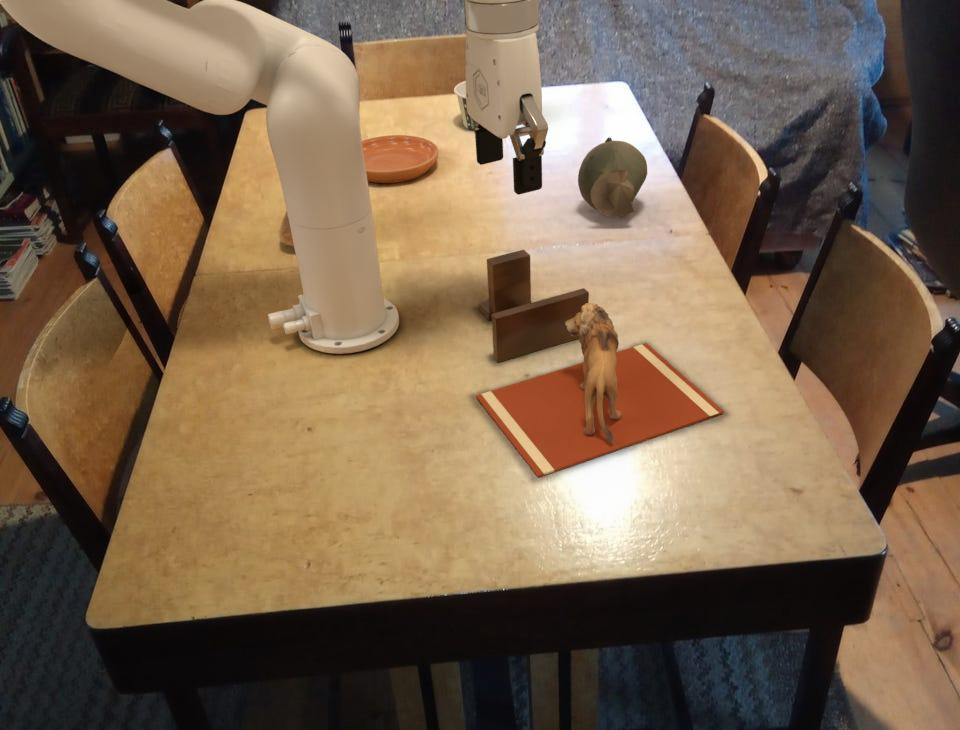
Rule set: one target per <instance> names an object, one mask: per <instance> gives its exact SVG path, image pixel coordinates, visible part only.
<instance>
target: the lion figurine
mask: <svg viewBox="0 0 960 730" xmlns="http://www.w3.org/2000/svg"><path fill="white" fill-rule="evenodd" d="M565 325H566V326H567V330H568V331H569V332H571V335H572V336H580V337H579V338H578V341H579V344H580V345H581V346H580V348H581V353H582V356H583V362H582V363H583V372H584V376H585V381H584V382H582V383H581V385H580V387H581V388H582V389H584V390H585V408H586V423H587V426H586V427H585V428H584V433H585V434H587V435H591V434H593V433H594V432H595V428H594V416H593V405H594V402H595V399H596V397H597V411H598V418H599V422H600V425H601V427H602V429H603V431H604V433H605V438H606V439H607V440H608V441H610V442H613V441H614V438H613V436H612V434H611V432H610V430H609V429H608V428H607V426H606V424H605V421H604V417H603V394H604V395H605V397H606V398H607V400H608V403H609V414H610V417H611V418H612V419H619V418H621V413H620V412H619V411H618V410H616V402H617V395H618V390H617V377H616V372H615V368H616V363H617V359H616V355H617V352H618V349H619V345H620V342H619V335H618V333H617V332H616V331H617V330H615V326H614V323H613V320H612V319H611V318H610V317H609V314H608V312H606V309H605V308H604V307H602V306H600V305H598V303H591V302H589V303H586V304H585V305H583V306H582V307H581V312H579V313H577V315H576V316H575V317H574V318H572V319H570V320H567V321H566V322H565Z"/></svg>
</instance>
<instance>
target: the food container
mask: <svg viewBox="0 0 960 730" xmlns="http://www.w3.org/2000/svg"><path fill="white" fill-rule="evenodd" d="M453 92H454V94H455V95H456V97H457V102H458V106H459V110H460V114H461V119H462V124H463V126H464V127H465V128H466V129H467V130H469V131H472V132H475V130H478V129H479V128H478V129H475V128H474V125H473V119H472V118H471V117H470V115H469V114H468V112H467V104H466V80H464V81H461V82H459V83H458V84H456V85H455V86H454V88H453Z"/></svg>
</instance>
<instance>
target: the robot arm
mask: <svg viewBox="0 0 960 730" xmlns="http://www.w3.org/2000/svg"><path fill="white" fill-rule="evenodd" d="M539 2H540V1H539V0H463V8H464V9H463V11H464V23H465V24H464V25H465V26H464V27H465V33H466V34H465V35H466V36H465V53H464V54H465V57H464V58H465V60H464V63H465V65H464V66H465V68H464V69H465V70H464V71H465V73H464V74H465V81H466V104H467V112H468V114H469V115H470V117H471V118H472V119H473V125H474V128H475V129H478V128H479V129H478V130H475V131H474V138H475V154H476V155H475V156H476V162H477V164H479V165H480V166H483V165H487V164H490V163H494V162H495V163H496V162H499V161H502V160H503V159H504V142H503V141H504V139H506V138H508V136H509V139H510V141H511V144H512V145H511V146H512V148H513V150H514V151H513V152H514V154H515V157H513V158H512V171H513V172H512V173H513V174H512V175H513V192H514V193H515V194H516V195H519V196H520V195H523V194H527V193H531V192H535V191H539V190H542V189H543V156H544V153H545V147H546V144H547V141H546V140H547V135H548V132H549V124H548V121H547V120H546V119H545V116H543V93H542V91H543V90H542V78H541V77H542V76H541V75H542V74H541V65H540V54H539V47H538V40H537V38H538V37H537V31H539V30H540V9H539V8H540V3H539ZM0 5H1V6H2V8H3V9H4V10H5V11H6V13H8V14H9V16H10V17H11V18H12V19H13V20H14V21H16V22H17V24H19V25H20V26H21V27H22V28H23V29H24V30H26V31H27V32H29V33H30V34H32V35H33V36H34V37H36V38H38V39H39V40H41V41H42V42H44V43H46V44H47V45H50V46H51V47H53V48H56V49H57V50H59V51H62V52H64V53H66V54H68V55H70V56H74V57H77V58H78V59H80V60H83V61H85V62H88V63H91V64H94V65H96V66H97V67H98V66H99V67H101V68H103V69H106V70H108V71H110V72H113V73H115V74H117V75H119V76H120V77H123V78H125V79H128V80H130V81H132V82H134V83H137V84H139V85H141V86H144V87H146V88H149V89H151V90H153V91H155V92H158V93H159V94H162V95H165V96H167V97H170V98H172V99H174V100H176V101H179V102H181V103H184V104H185V105H188V106H190V107H193V108H195V109H197V110H200V111H202V112H205V113H209V114H212V115H216V116H217V115H218V116H224V115H225V116H226V115H231V114H235V113H236V112H238V111H240V110H242V109H243V108H244V107H245V106H246V105H247V104H248V103H249V102H250V101H251V100H253V101H255V102H258V103H259V104H263V105H265V106H266V115H265V116H266V118H265V120H266V121H265V122H266V123H265V124H266V131H267V135H268V141H269V145H270V149H271V153H272V155H273V160H274V163H275V166H276V169H277V170H276V171H277V173H278V177H279V180H280V181H279V182H280V186H281V190H282V194H283V199H284V204H285V209H286V210H287V215H288V218H289V223H290V228H291V233H292V238H293V243H294V247H293V248H294V253H295V258H296V263H297V268H298V274H299V277H300V284H301V288H302V294H298V296H297V298H298V302H299V303H297V304H293V305H292V308H289V309H285V310H279V311H275V312H271V313H268V314H267V319H268V323H269V326H270V328H271V330H276V329H280V328H283V329H284V333H285V335H286V336H287V335H290V334H294V333H298V337H299V339H300V340H301V342H302V343H303V344H304V345H306V346H307V347H308V348H310V349H312V350H315V351H318V352H321V353H327V354H336V355H343V354H344V355H345V354H352V353H359V352H364V351H367V350H370V349H373V348H375V347H378V346H379V345H381V344H383V343H385V342H386V341H388V340H389V339H390V338H392V336H394V334H395V333H396V332H397V330H398V328H399V325H400V314H399V311H398V309H397V307H396V305H394V304H393V303H392V302H391V301H389V300H387V299H385V297H384V296H385V295H384V290H383V282H382V274H381V269H380V268H381V267H380V260H379V252H378V245H377V237H376V229H375V223H374V222H375V221H374V214H373V207H372V203H371V195H370V188H369V181H368V180H367V173H366V166H365V160H364V154H363V147H362V141H363V140H362V131H361V117H360V115H361V114H360V110H361V109H360V108H361V101H360V99H361V85H360V79H359V75H358V72H357V69H356V67H355V65H354V64H353V62H352V61H351V59H350V58H349V56H348V55H347V54H346V53H345V52H343V51H342V49H340V48H338V47H337V46H335V45H334V44H332V43H331V42H329V41H327V40H325V39H323V38H321V37H319V36H317V35H315V34H313V33H311V32H309V31H307V30H304V29H302V28H300V27H298V26H295V25H293V24H291V23H289V22H287V21H285V20H283V19H280V18H278V17H276V16H274V15H272V14H270V13H268V12H265V11H263V10H262V9H259V8H257V7H255V6H252V5H250V4H248V3H245V2H242V1H239V0H201V1H199V2H197V3H195V4H193V5H192V6H191V7H190V8H187V7H184V6H181V5H179V4H176V3H174V2H172V1H170V0H0ZM522 125H523V126H522ZM517 126H521V127H517ZM525 136H529V137H528V138H527V139H526V140H525V142H524V143H523V142H522V139H521V138H522V137H525Z"/></svg>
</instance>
